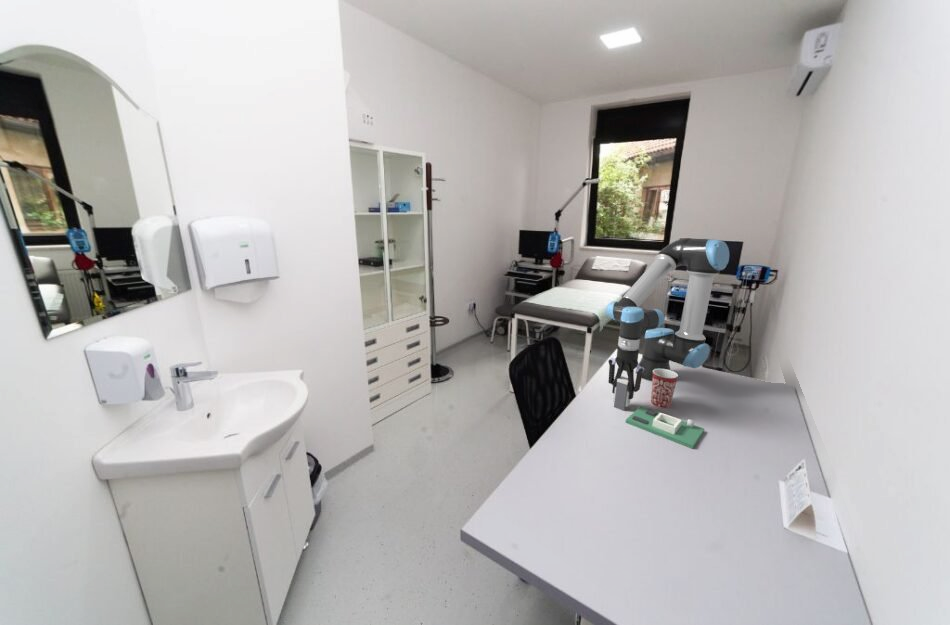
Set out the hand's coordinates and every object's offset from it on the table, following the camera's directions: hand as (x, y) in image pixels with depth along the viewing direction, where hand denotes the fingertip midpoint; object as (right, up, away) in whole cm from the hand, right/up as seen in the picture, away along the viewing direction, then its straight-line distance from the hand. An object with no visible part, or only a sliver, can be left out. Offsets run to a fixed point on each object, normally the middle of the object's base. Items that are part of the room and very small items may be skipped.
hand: (621, 403), depth 144 cm
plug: (0, -2, 0) cm, 2 cm away
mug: (+18, -1, +5) cm, 19 cm away
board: (+10, -5, -13) cm, 17 cm away
